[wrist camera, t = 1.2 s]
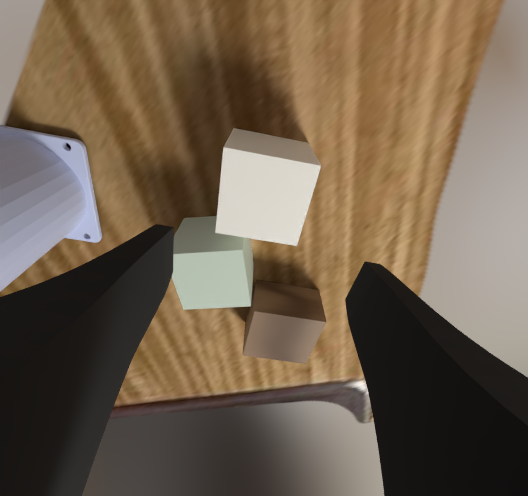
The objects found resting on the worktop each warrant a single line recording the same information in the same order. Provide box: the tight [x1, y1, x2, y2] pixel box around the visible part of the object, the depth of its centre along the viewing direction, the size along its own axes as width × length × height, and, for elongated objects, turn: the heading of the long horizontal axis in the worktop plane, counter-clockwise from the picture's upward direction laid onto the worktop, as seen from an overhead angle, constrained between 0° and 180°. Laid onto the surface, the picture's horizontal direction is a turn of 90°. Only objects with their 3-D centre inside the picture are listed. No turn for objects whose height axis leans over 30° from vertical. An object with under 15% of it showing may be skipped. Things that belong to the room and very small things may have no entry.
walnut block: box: [243, 280, 326, 364], centre depth 25 cm, size 6×6×4 cm
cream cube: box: [215, 128, 321, 246], centre depth 17 cm, size 5×5×5 cm
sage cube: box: [172, 216, 254, 310], centre depth 20 cm, size 5×5×5 cm
